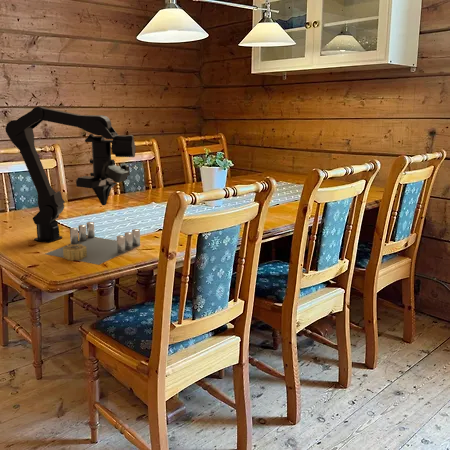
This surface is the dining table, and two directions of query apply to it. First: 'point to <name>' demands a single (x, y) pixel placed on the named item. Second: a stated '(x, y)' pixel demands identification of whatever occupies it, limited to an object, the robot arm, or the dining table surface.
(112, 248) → the mat
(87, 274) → the dining table surface
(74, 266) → the dining table surface
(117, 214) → the dining table surface
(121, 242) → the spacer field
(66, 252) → the tan lobed block
